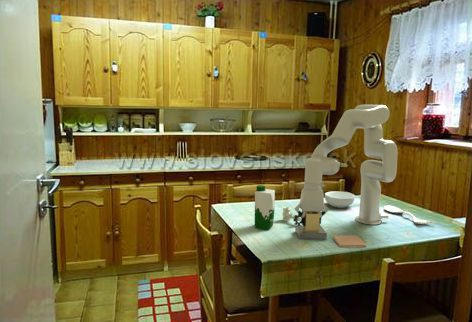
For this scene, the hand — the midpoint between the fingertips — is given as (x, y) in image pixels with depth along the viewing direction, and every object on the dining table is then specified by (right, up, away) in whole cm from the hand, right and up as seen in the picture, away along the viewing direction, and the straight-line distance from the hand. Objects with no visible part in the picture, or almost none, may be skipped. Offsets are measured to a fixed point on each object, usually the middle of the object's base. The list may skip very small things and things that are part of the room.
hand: (310, 224), depth 172 cm
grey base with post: (0, -5, +1) cm, 5 cm away
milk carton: (-20, -3, +11) cm, 23 cm away
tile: (+15, -6, -7) cm, 18 cm away
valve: (-6, -2, +19) cm, 20 cm away
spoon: (+57, -2, +31) cm, 65 cm away
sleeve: (0, -2, 0) cm, 2 cm away
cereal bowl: (+26, +2, +51) cm, 58 cm away
